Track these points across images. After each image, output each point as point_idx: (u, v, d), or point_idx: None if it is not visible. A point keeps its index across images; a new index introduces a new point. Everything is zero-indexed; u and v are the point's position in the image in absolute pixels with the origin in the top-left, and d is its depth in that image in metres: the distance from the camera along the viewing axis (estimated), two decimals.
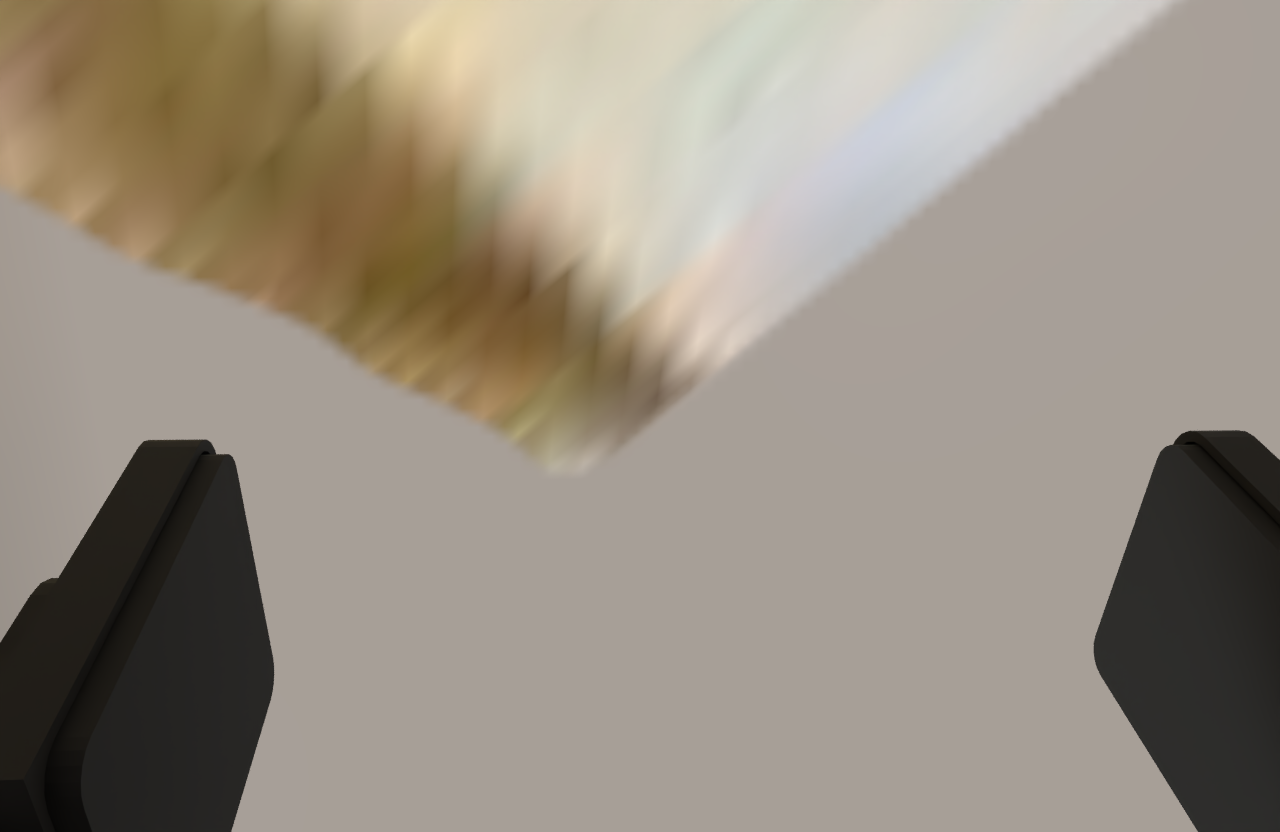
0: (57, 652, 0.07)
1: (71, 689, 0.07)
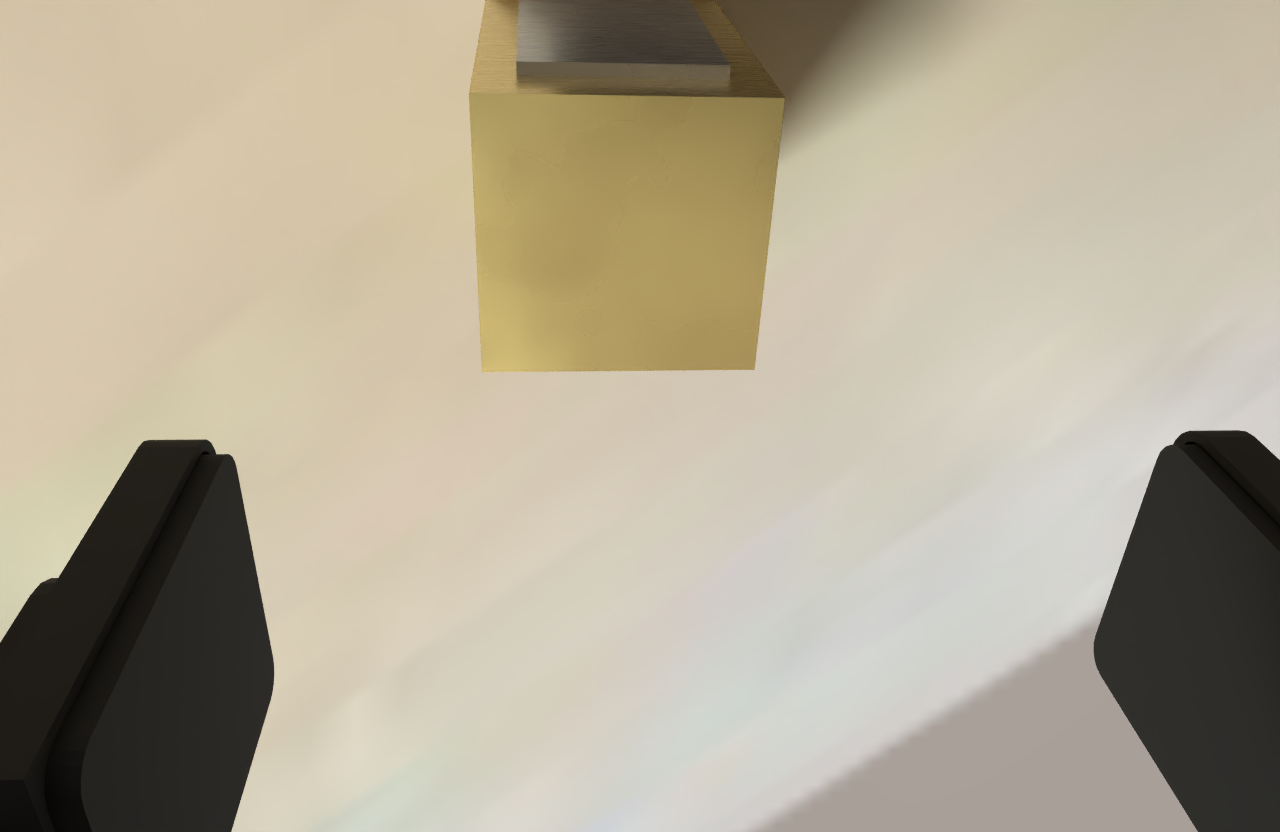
0: (57, 652, 0.07)
1: (71, 689, 0.07)
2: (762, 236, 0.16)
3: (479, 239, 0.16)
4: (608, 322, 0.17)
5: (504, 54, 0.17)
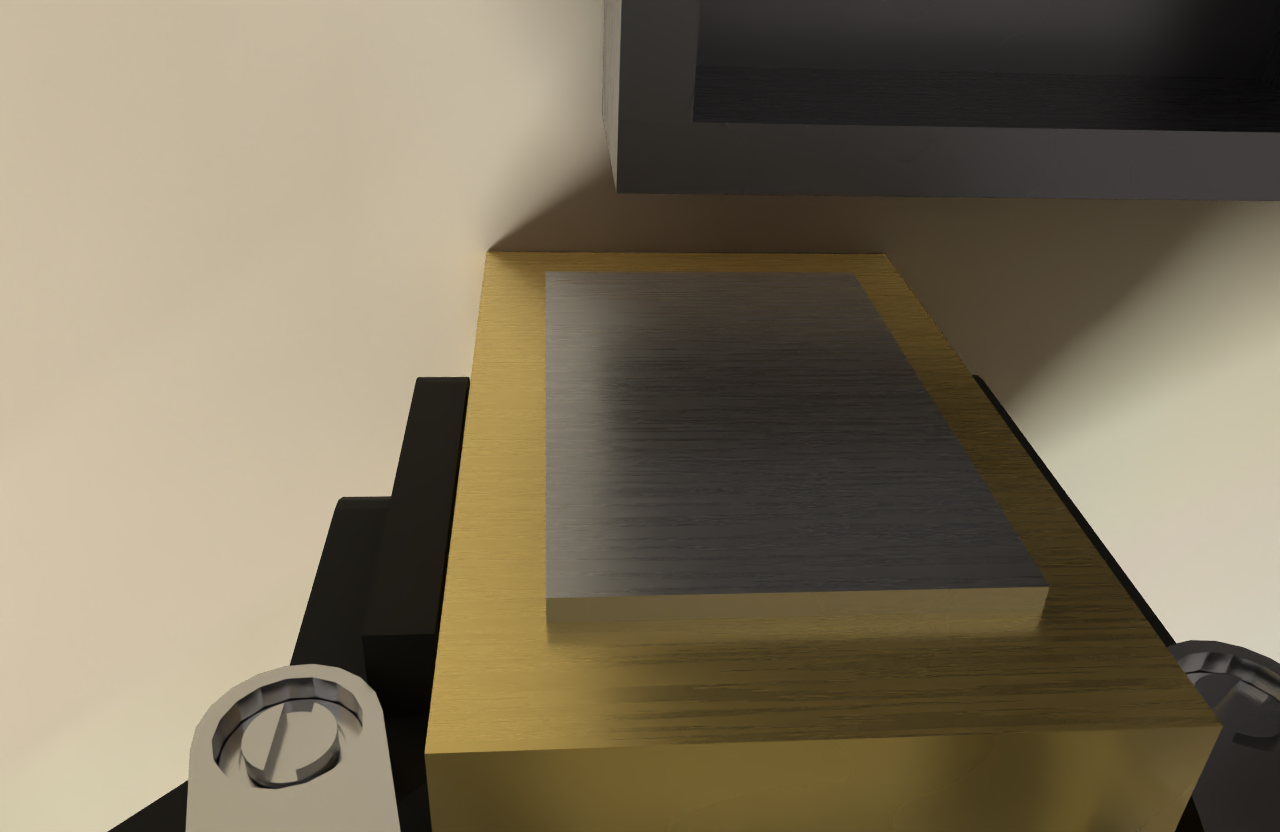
0: (419, 540, 0.08)
1: (442, 568, 0.08)
2: None
3: None
4: None
5: (517, 504, 0.08)
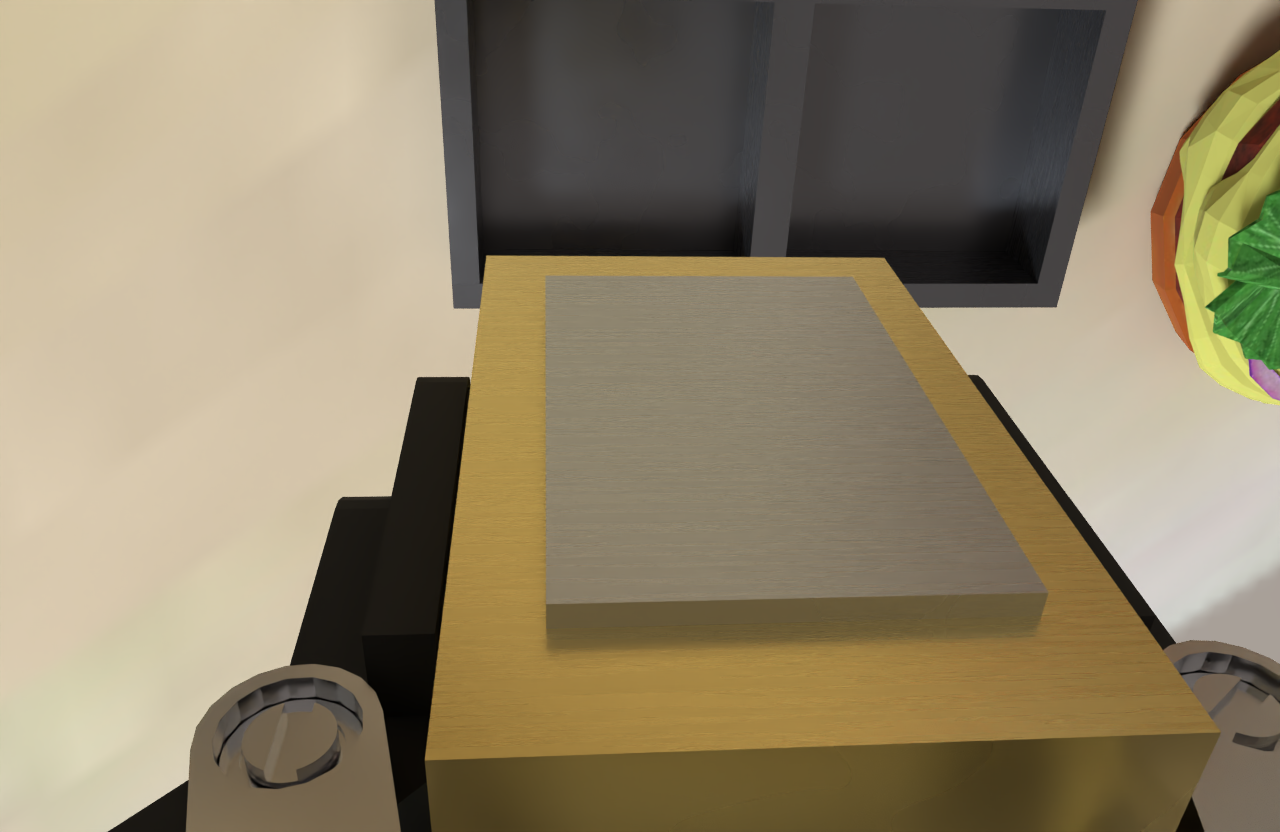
0: (420, 540, 0.08)
1: (443, 568, 0.08)
2: None
3: None
4: None
5: (517, 510, 0.08)
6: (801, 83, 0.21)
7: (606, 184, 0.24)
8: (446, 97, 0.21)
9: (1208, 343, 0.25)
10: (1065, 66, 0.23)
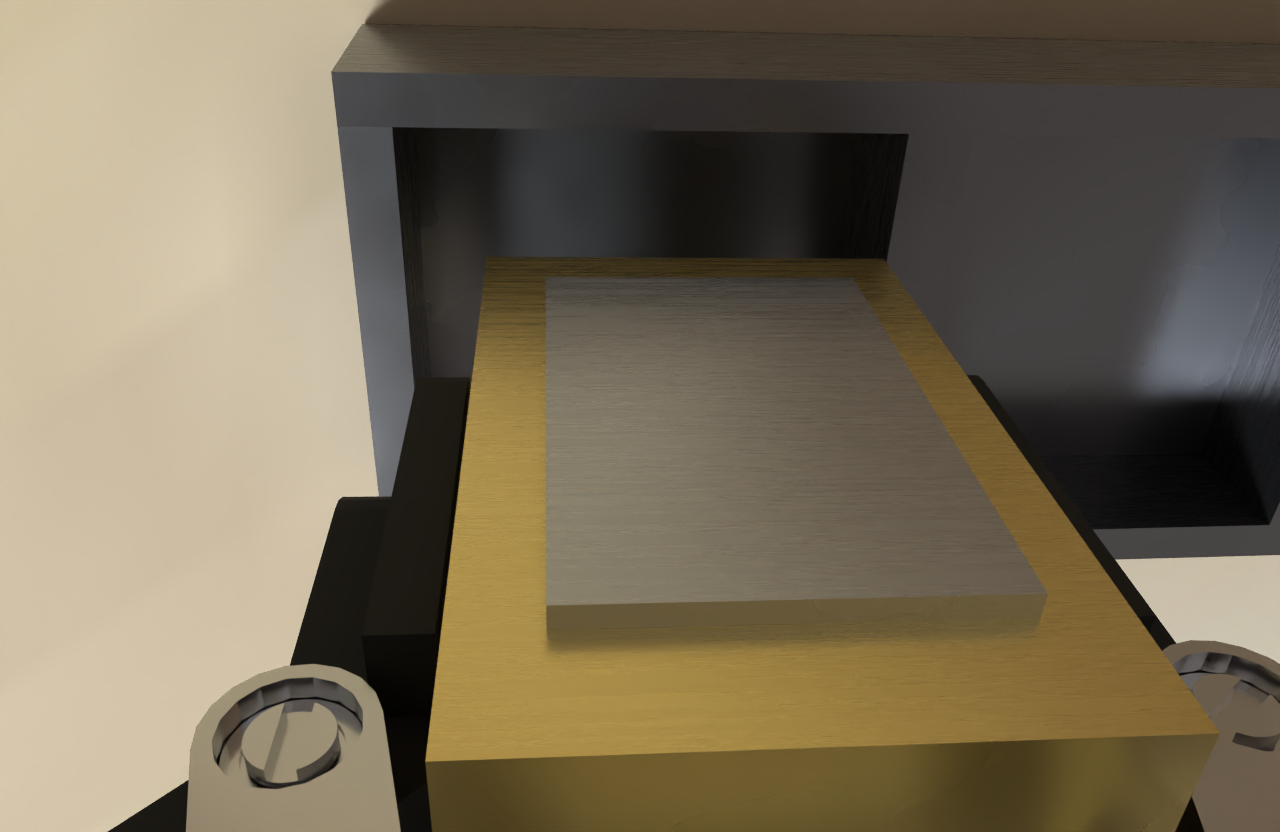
0: (419, 540, 0.08)
1: (442, 568, 0.08)
2: None
3: None
4: None
5: (517, 511, 0.08)
6: (942, 255, 0.13)
7: None
8: (364, 285, 0.13)
9: None
10: None
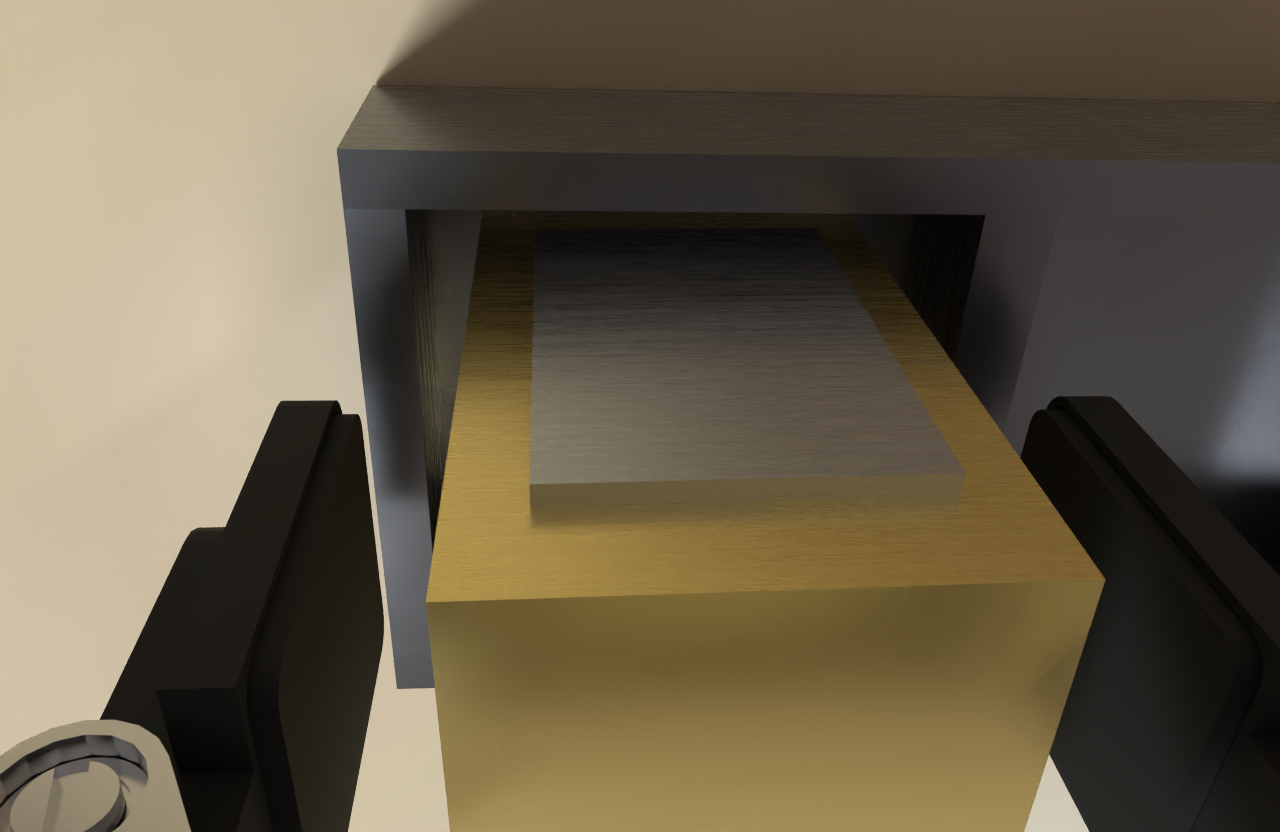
0: (243, 582, 0.08)
1: (261, 612, 0.07)
2: (1023, 794, 0.08)
3: (456, 830, 0.08)
4: None
5: (506, 418, 0.09)
6: (1017, 346, 0.12)
7: None
8: (372, 380, 0.11)
9: None
10: None
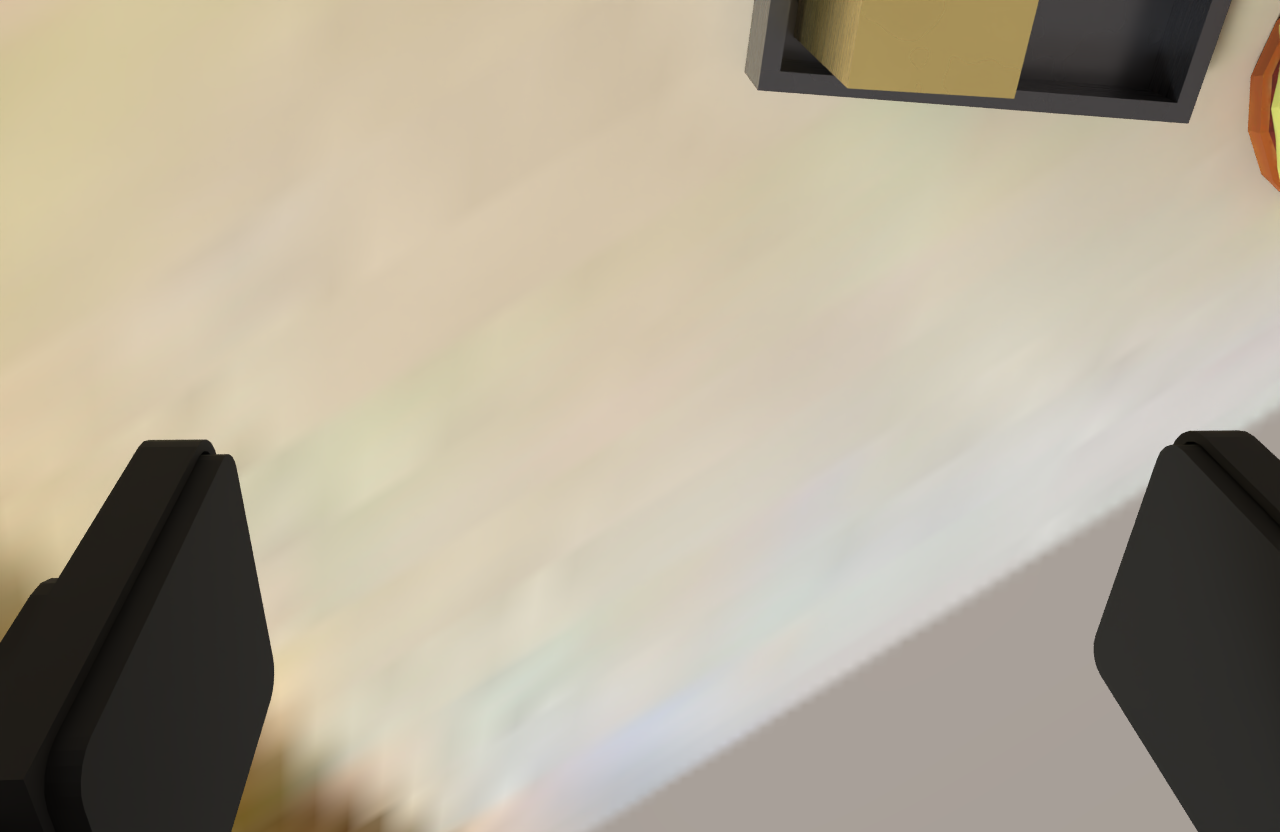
0: (57, 652, 0.07)
1: (71, 689, 0.07)
2: (1034, 2, 0.26)
3: None
4: (931, 57, 0.27)
5: None
6: None
7: None
8: None
9: None
10: None
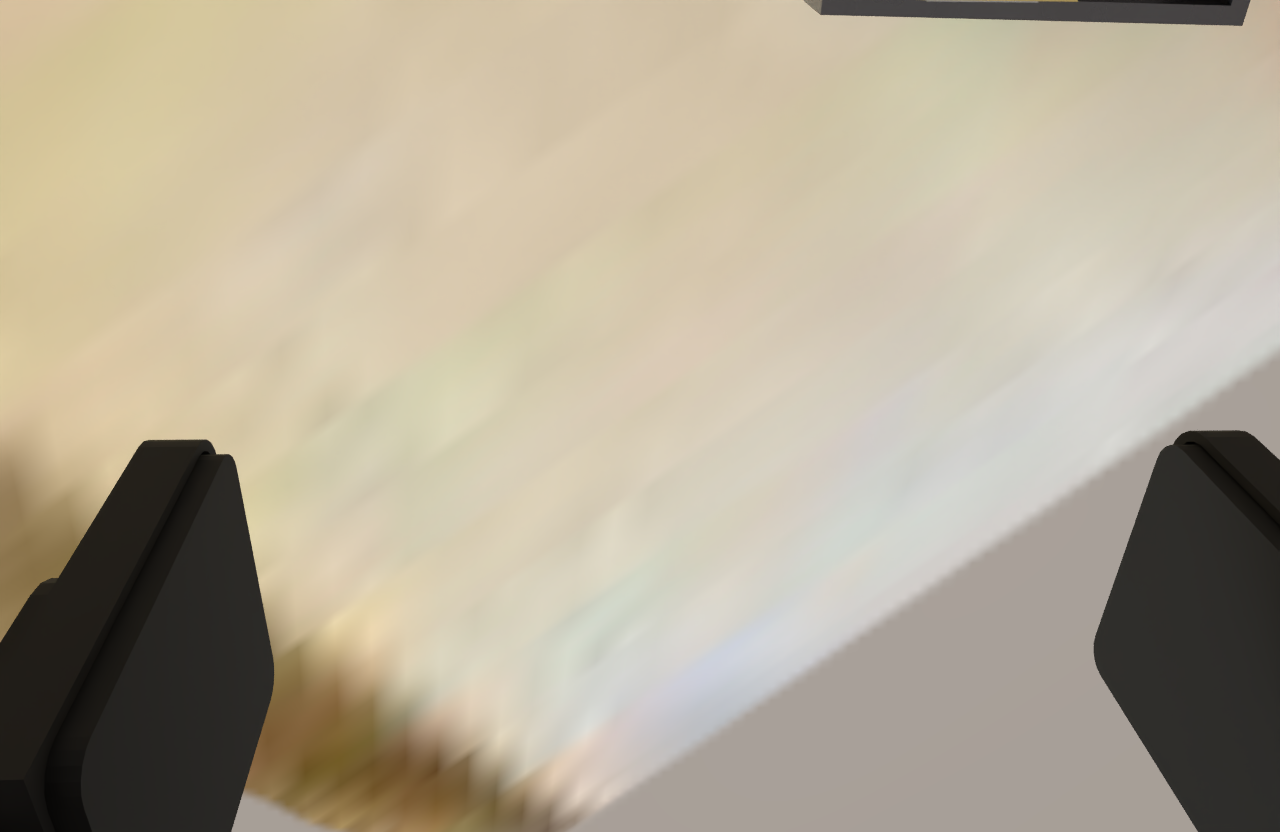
0: (57, 652, 0.07)
1: (71, 689, 0.07)
2: None
3: None
4: None
5: None
6: None
7: None
8: None
9: None
10: None
